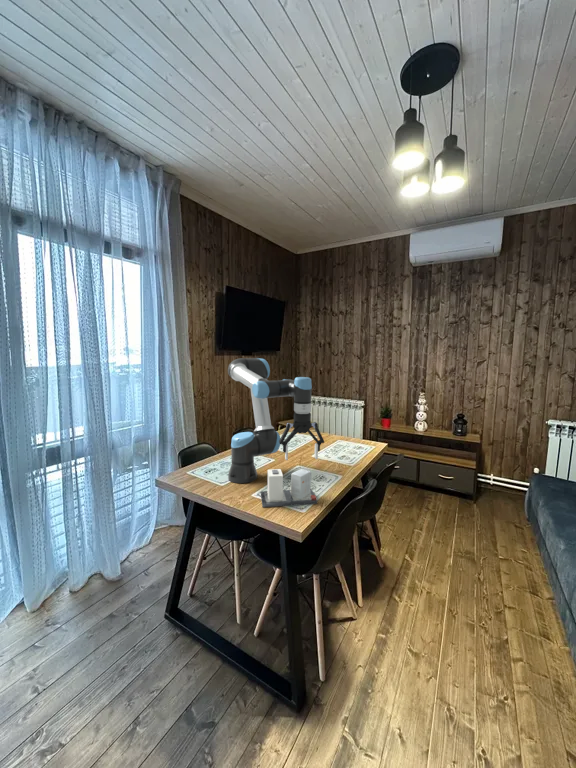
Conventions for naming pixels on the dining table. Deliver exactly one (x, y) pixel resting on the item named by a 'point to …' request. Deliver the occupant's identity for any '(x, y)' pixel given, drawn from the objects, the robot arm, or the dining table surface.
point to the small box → (300, 483)
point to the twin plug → (275, 484)
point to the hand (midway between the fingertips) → (301, 458)
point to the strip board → (287, 499)
